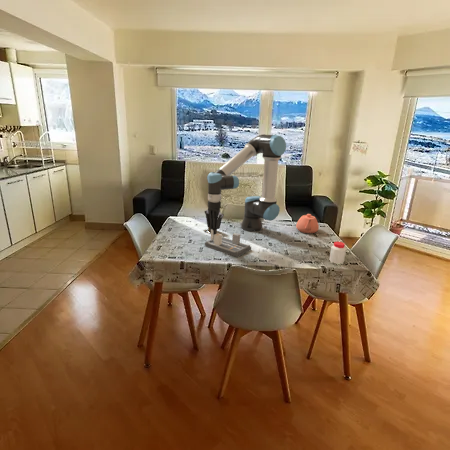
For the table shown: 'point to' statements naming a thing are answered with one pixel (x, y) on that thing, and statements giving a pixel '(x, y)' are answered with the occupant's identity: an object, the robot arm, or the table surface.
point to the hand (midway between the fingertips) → (213, 239)
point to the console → (230, 246)
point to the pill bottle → (337, 252)
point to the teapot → (307, 224)
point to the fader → (217, 239)
